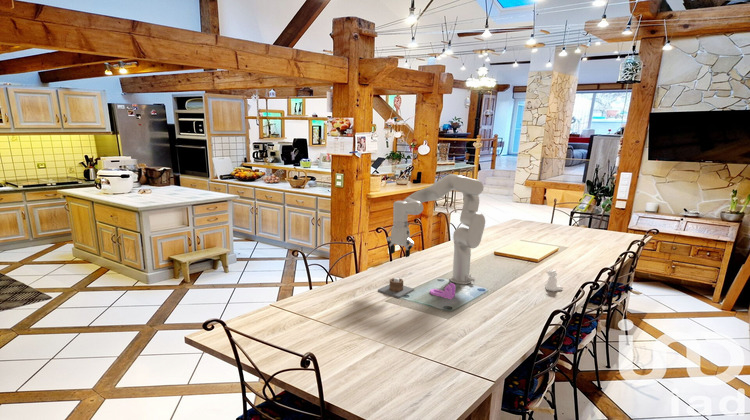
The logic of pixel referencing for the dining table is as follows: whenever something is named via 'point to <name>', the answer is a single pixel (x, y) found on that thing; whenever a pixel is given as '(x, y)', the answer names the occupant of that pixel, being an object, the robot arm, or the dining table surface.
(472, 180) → the robot arm
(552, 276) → the seated beast figurine
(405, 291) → the post
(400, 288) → the collar
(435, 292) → the bracket
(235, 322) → the dining table surface
